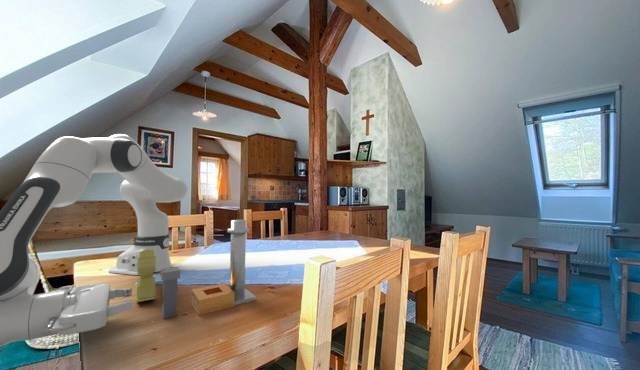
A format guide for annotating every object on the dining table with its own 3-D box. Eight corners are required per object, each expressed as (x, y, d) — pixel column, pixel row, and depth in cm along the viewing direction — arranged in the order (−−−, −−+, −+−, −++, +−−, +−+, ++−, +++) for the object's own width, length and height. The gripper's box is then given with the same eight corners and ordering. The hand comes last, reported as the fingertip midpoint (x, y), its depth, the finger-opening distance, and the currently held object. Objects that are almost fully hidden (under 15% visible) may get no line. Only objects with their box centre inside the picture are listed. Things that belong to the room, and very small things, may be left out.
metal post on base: (198, 315, 70) (200, 224, 70) (191, 303, 77) (193, 221, 78) (256, 300, 79) (257, 221, 80) (245, 291, 87) (246, 218, 88)
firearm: (153, 291, 97) (154, 250, 100) (155, 301, 73) (156, 246, 76) (139, 294, 95) (140, 251, 98) (135, 305, 70) (137, 248, 73)
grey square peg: (161, 320, 67) (162, 272, 67) (159, 314, 70) (160, 269, 70) (179, 316, 69) (180, 270, 70) (176, 310, 73) (177, 266, 73)
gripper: (42, 316, 49) (134, 298, 57) (63, 284, 65) (132, 274, 73) (41, 351, 49) (133, 328, 57) (62, 310, 65) (131, 297, 73)
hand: (132, 297), depth 65 cm, fingers open, 8 cm apart
